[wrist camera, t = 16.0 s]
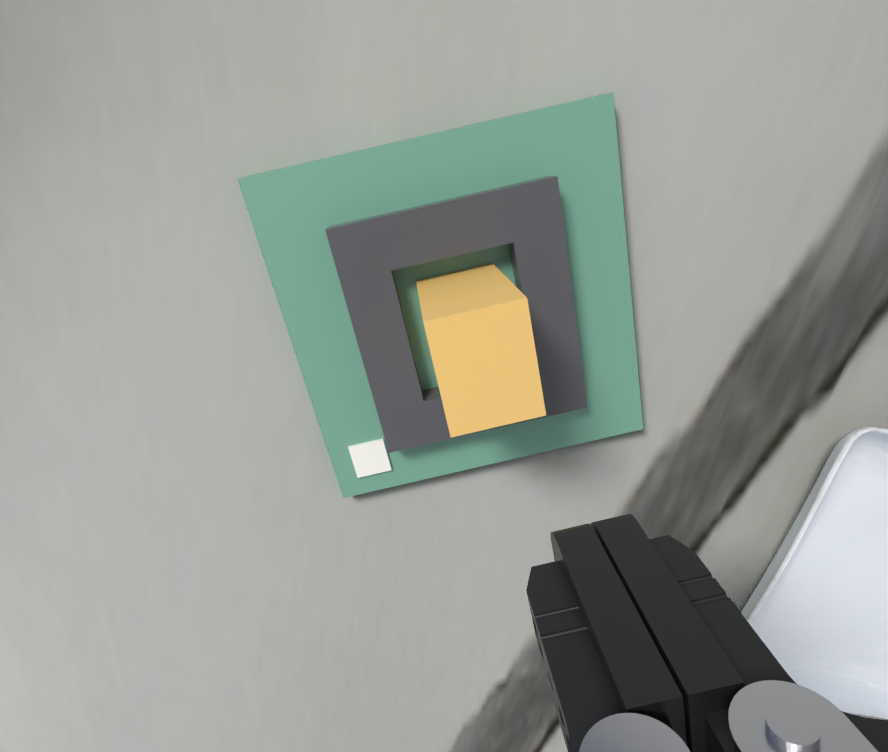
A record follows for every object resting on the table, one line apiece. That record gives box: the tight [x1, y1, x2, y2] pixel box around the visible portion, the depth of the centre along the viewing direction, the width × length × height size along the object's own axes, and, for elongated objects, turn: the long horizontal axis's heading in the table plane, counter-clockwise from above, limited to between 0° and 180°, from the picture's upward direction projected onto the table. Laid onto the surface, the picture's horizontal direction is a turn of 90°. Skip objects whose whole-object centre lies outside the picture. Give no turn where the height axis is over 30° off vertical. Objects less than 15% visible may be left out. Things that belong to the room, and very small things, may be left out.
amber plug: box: [416, 263, 546, 437], centre depth 25 cm, size 4×5×8 cm
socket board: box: [238, 92, 643, 498], centre depth 29 cm, size 18×18×2 cm
